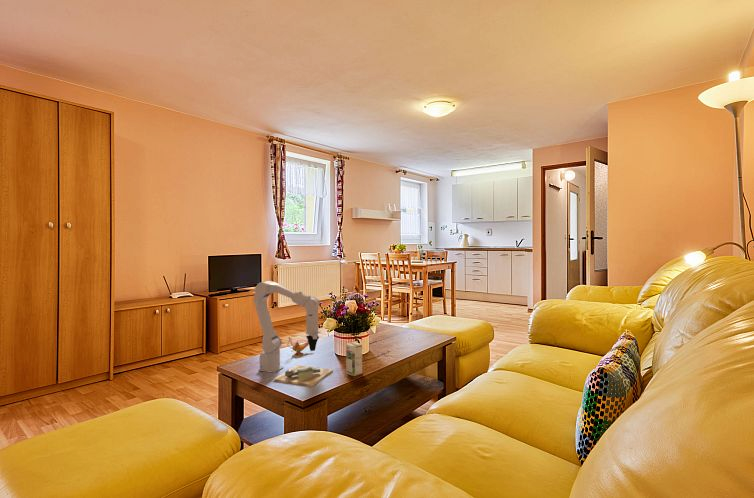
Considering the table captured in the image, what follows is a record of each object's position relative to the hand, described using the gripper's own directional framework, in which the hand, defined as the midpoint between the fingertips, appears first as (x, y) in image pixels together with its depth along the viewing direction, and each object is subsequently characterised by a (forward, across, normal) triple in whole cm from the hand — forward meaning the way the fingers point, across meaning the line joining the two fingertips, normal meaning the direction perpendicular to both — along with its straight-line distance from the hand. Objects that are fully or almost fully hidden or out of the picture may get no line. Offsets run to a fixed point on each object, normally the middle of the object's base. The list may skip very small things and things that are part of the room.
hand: (312, 350), depth 182 cm
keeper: (+9, -9, +5) cm, 14 cm away
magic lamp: (+11, +32, +1) cm, 34 cm away
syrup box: (+11, -10, -18) cm, 23 cm away
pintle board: (+10, -5, +5) cm, 13 cm away
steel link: (+8, -7, +6) cm, 12 cm away
